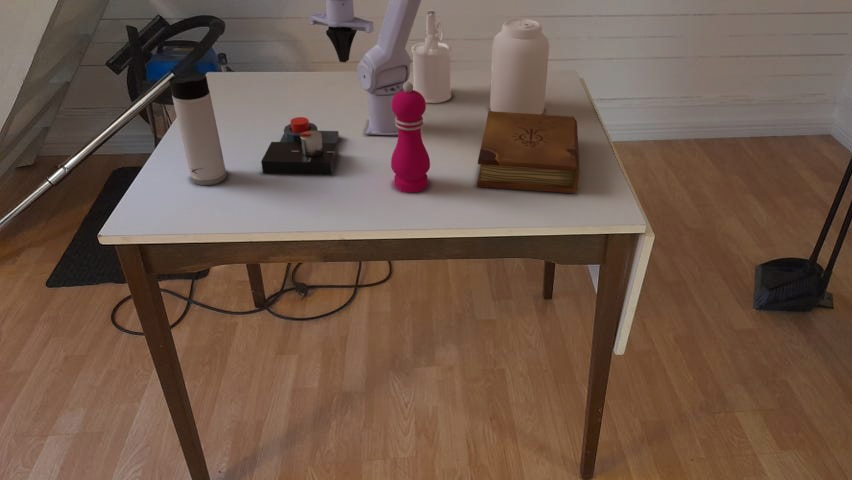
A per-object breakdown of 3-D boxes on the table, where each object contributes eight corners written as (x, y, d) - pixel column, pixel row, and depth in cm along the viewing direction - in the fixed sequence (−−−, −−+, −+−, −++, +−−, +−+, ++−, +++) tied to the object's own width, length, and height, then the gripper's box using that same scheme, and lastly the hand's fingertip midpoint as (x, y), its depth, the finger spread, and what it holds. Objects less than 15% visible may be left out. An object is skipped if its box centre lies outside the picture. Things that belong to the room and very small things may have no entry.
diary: (576, 194, 132) (580, 166, 129) (477, 187, 133) (478, 159, 130) (574, 141, 151) (577, 115, 147) (487, 135, 152) (488, 110, 148)
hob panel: (338, 154, 142) (337, 142, 140) (332, 175, 135) (330, 162, 134) (273, 153, 142) (271, 140, 140) (263, 173, 135) (261, 160, 133)
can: (553, 108, 164) (561, 21, 153) (527, 126, 156) (533, 35, 144) (507, 96, 170) (511, 11, 158) (479, 113, 161) (482, 24, 149)
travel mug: (195, 189, 129) (170, 84, 117) (189, 173, 134) (164, 71, 122) (230, 182, 132) (209, 78, 120) (223, 167, 136) (202, 66, 125)
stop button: (311, 126, 145) (310, 117, 144) (307, 134, 142) (306, 124, 141) (293, 126, 145) (292, 116, 144) (290, 133, 142) (288, 124, 141)
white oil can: (418, 86, 173) (416, 2, 161) (455, 90, 171) (456, 6, 160) (406, 103, 164) (403, 15, 153) (445, 107, 163) (445, 19, 151)
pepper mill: (415, 198, 129) (412, 93, 117) (384, 187, 132) (378, 84, 120) (437, 182, 134) (437, 80, 122) (407, 172, 137) (403, 72, 125)
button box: (339, 137, 149) (337, 122, 147) (333, 152, 143) (332, 136, 141) (286, 136, 148) (284, 120, 146) (279, 151, 143) (276, 135, 141)
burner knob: (325, 147, 139) (323, 129, 136) (321, 156, 135) (319, 138, 133) (304, 147, 139) (302, 128, 136) (300, 156, 135) (298, 137, 133)
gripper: (298, -3, 147) (306, 61, 155) (361, 6, 144) (365, 71, 151) (315, -11, 153) (322, 51, 161) (376, -3, 149) (379, 61, 157)
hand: (344, 60), depth 156 cm, fingers closed
